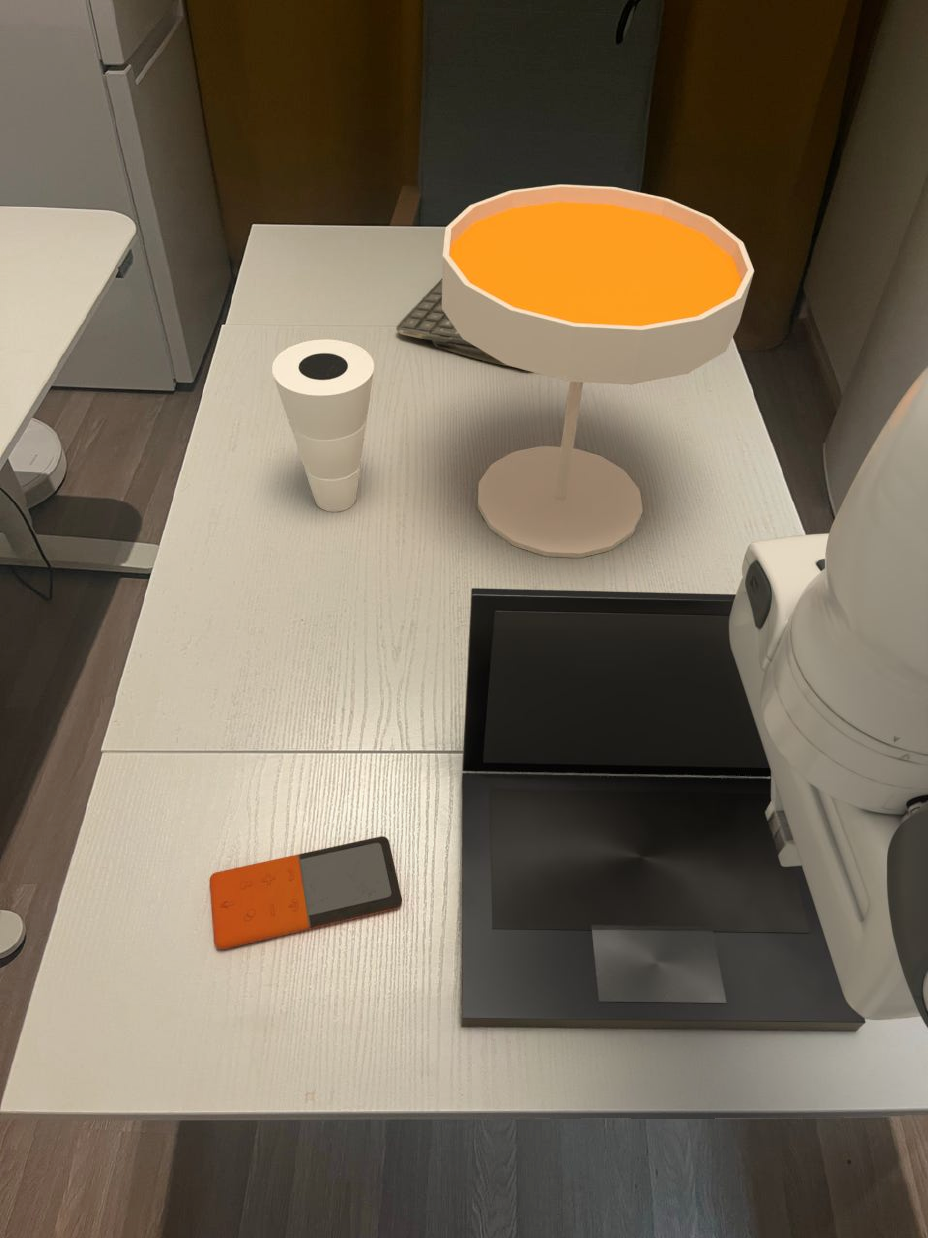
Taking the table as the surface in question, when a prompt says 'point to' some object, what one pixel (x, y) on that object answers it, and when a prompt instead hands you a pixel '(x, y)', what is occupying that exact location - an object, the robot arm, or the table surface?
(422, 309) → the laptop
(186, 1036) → the table surface
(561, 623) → the notebook screen
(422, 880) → the table surface
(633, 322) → the cream stemmed bowl
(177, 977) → the table surface
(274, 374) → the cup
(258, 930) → the phone
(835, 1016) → the notebook
